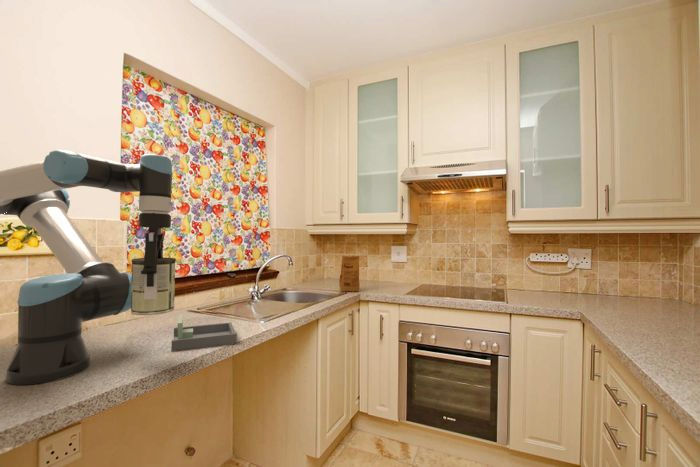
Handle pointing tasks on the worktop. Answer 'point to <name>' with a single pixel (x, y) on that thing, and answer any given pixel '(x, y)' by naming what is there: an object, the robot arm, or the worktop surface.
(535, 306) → the worktop surface
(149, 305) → the coffee can
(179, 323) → the pusher
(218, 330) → the grey tray
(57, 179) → the robot arm
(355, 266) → the coffee package
